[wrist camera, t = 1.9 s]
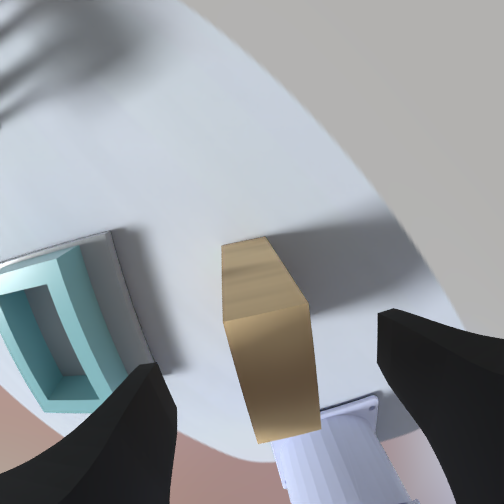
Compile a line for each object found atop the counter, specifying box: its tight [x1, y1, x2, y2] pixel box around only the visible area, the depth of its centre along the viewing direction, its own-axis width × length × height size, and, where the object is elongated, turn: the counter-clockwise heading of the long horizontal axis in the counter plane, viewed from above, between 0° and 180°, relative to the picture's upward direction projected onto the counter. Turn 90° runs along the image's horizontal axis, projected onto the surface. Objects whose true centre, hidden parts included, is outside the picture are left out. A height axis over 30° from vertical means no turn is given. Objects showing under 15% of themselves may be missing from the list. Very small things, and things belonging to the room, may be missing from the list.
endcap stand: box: [0, 231, 155, 413], centre depth 14 cm, size 9×9×3 cm
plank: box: [221, 237, 321, 444], centre depth 12 cm, size 5×2×8 cm, turn 11°
